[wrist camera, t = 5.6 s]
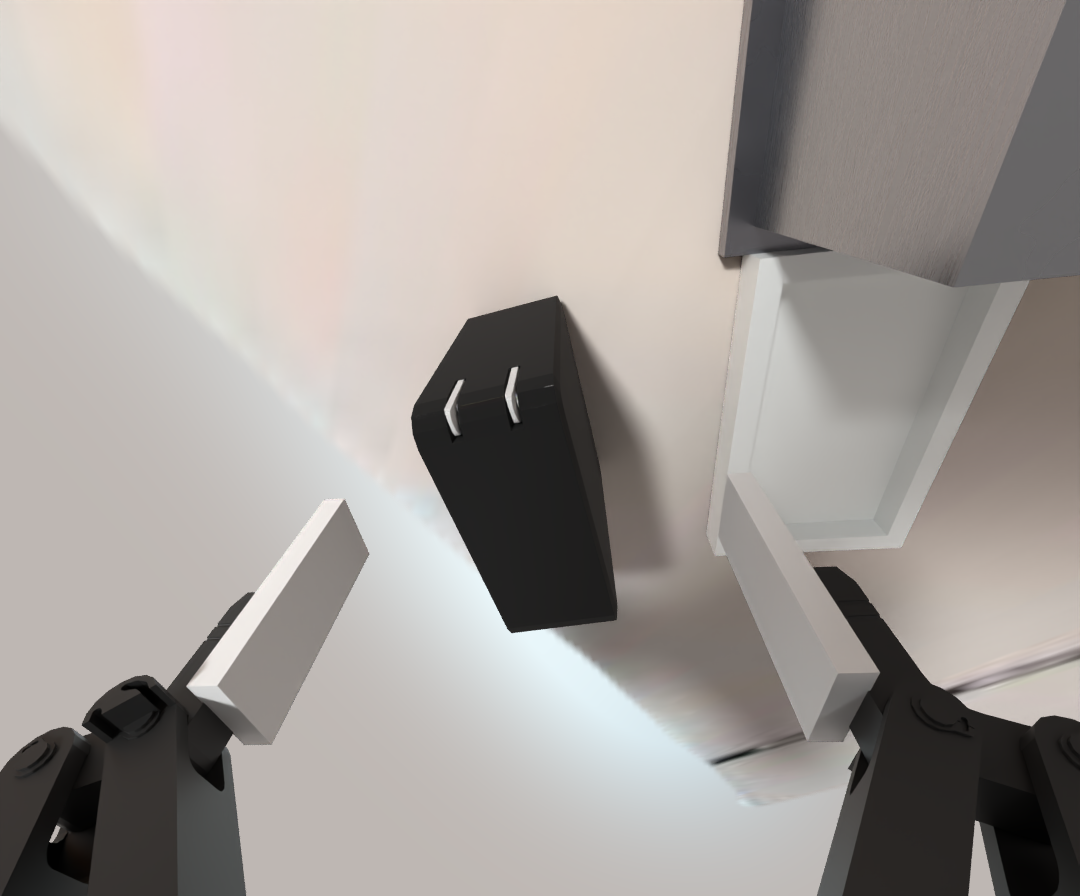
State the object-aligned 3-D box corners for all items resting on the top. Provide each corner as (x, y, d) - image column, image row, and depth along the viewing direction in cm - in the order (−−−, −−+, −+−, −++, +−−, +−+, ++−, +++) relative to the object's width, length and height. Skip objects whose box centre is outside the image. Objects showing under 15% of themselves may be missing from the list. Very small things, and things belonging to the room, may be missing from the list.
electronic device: (529, 482, 25) (512, 643, 16) (469, 313, 20) (400, 422, 11) (600, 469, 24) (621, 630, 16) (559, 289, 19) (556, 387, 10)
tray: (743, 251, 18) (760, 259, 16) (1010, 221, 17) (1056, 226, 15) (706, 533, 26) (714, 556, 25) (880, 525, 25) (901, 547, 24)
